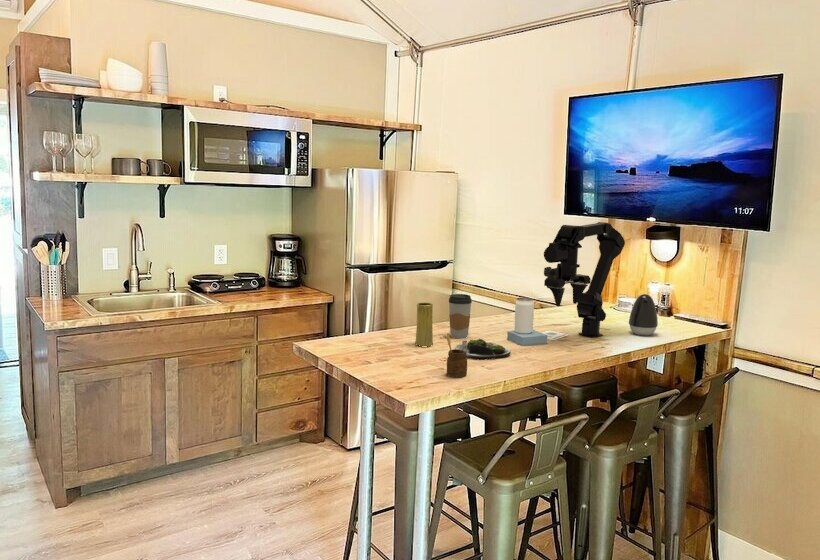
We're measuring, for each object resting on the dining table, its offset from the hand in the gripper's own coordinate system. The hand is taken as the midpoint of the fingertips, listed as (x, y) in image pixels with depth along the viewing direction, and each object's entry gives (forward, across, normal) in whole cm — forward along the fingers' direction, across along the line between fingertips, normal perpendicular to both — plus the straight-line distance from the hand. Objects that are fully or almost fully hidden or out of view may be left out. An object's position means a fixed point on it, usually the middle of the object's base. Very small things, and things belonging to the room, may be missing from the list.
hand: (566, 304), depth 228 cm
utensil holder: (+13, +59, +8) cm, 61 cm away
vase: (+13, +45, -24) cm, 53 cm away
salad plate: (+14, +36, -5) cm, 39 cm away
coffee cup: (+13, +27, -26) cm, 40 cm away
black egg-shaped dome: (+13, -33, +10) cm, 37 cm away
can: (+10, +12, -9) cm, 18 cm away
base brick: (+13, +12, -7) cm, 19 cm away
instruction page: (+13, -2, -8) cm, 15 cm away
